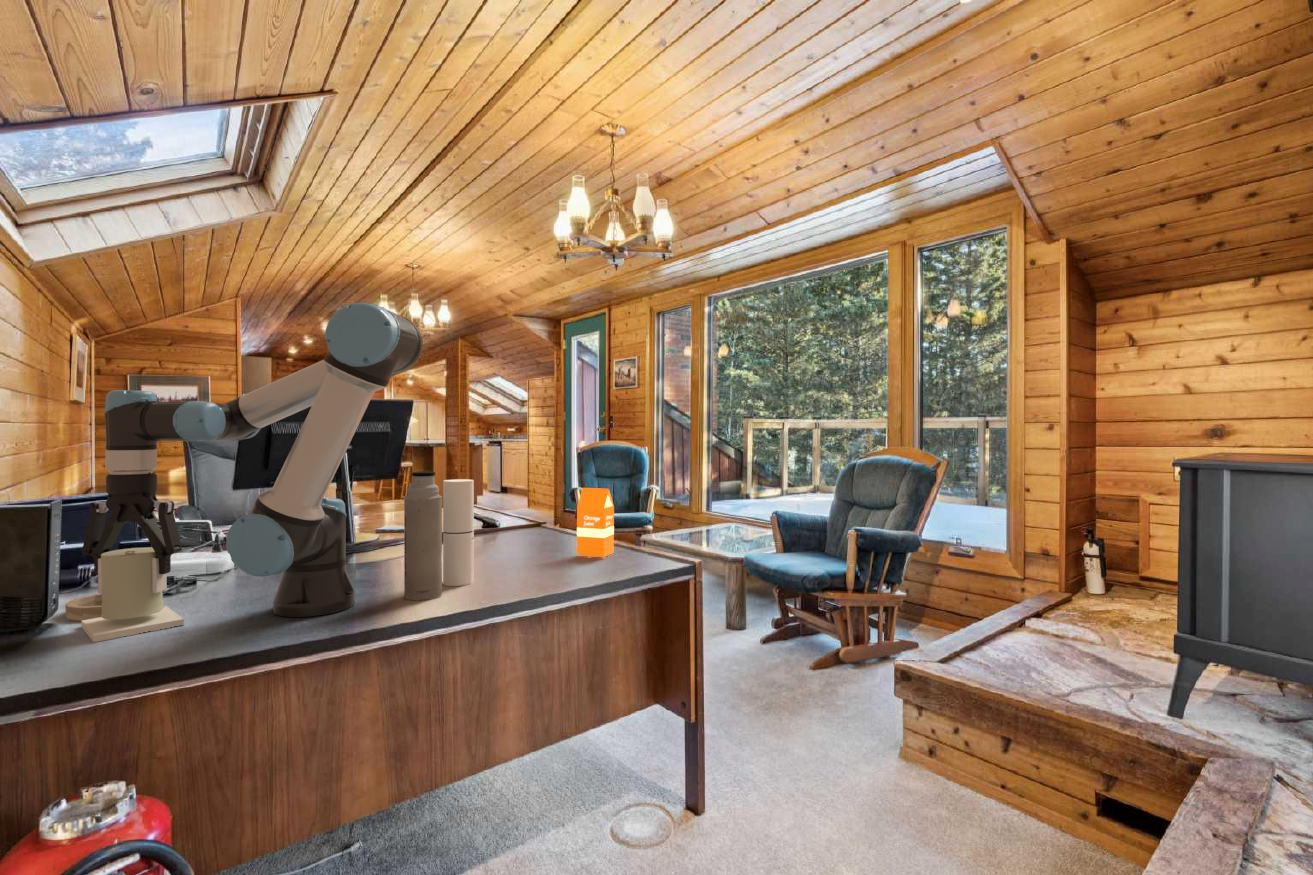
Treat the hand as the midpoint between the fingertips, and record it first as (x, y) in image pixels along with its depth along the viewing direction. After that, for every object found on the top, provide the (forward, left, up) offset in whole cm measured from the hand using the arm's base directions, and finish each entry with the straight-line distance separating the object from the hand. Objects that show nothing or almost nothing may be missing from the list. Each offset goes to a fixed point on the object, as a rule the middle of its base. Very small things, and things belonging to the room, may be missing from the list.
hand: (132, 591), depth 121 cm
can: (0, 0, -4) cm, 4 cm away
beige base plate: (0, 0, -7) cm, 7 cm away
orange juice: (-15, -106, -7) cm, 107 cm away
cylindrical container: (-15, -60, -7) cm, 62 cm away
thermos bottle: (-20, -48, -7) cm, 52 cm away
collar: (+16, +1, -7) cm, 17 cm away
